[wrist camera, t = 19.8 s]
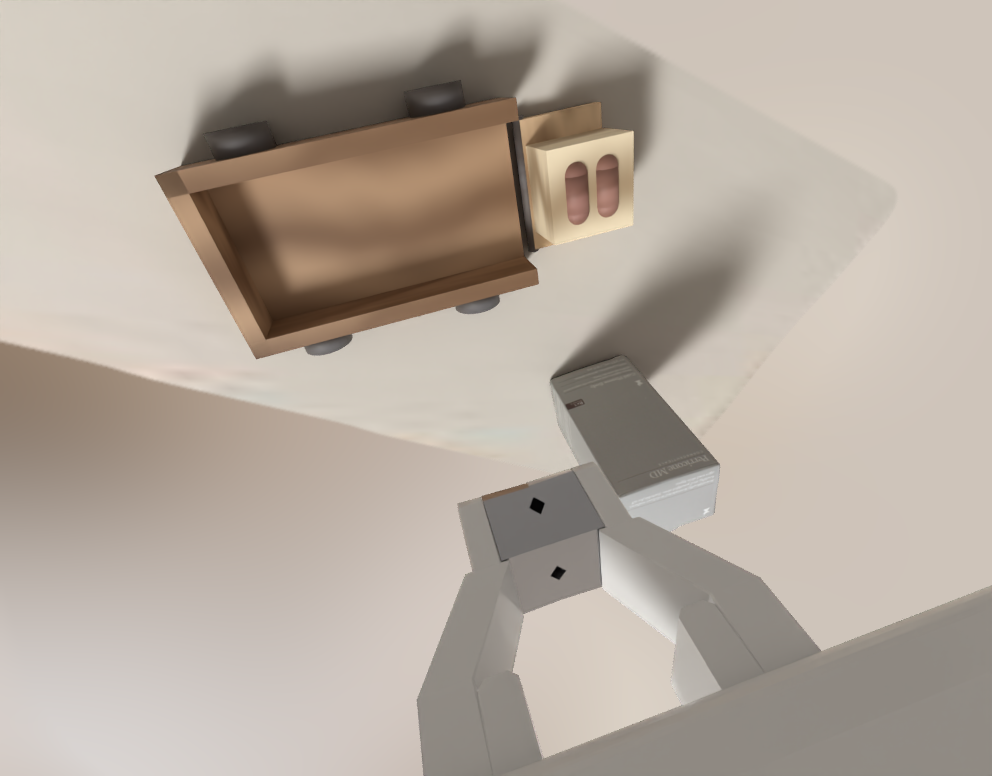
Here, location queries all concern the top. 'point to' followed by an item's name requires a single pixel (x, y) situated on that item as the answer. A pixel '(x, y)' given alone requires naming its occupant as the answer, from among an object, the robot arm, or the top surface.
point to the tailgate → (544, 130)
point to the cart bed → (357, 221)
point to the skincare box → (636, 443)
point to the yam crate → (582, 184)
